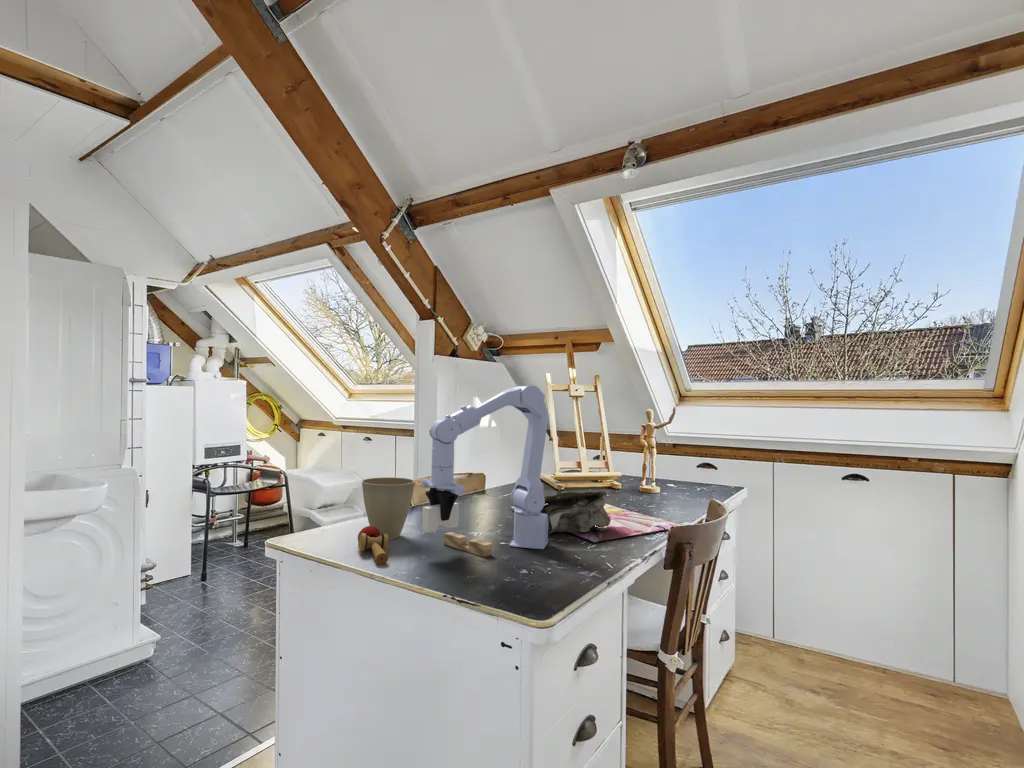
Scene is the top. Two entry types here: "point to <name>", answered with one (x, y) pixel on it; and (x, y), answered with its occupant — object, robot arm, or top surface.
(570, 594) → the top surface
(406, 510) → the plant pot
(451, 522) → the white flat block
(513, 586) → the top surface
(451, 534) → the wooden bar
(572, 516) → the hollow geode rock
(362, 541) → the kendama
